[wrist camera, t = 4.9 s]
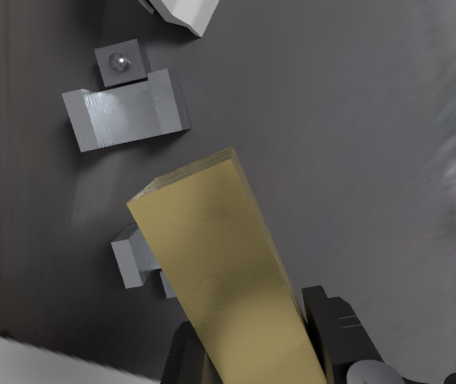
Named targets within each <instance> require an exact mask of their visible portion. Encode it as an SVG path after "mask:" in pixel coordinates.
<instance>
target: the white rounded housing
mask: <svg viewBox="0 0 456 384" xmlns="http://www.w3.org/2000/svg"><path fill="white" fill-rule="evenodd" d="M138 1H139V2H140V3H141V4H142V5H143V6H144V7H145V8H146V9H147V10H148V11H149V12H150V13H151V14H153V12H154V10H156V11H158V12H159V13H160V15H161V16H162V17H163V18H164V20H165V21H166V22H170V23H174V24H178V25H181V26H185V27H187V28H188V29H189V30H190V31H191V32H192V33H193V34H195V35H196V36H199V37H202V35H203V33H204V31H205V29H206V27H207V25H208V23H209V21H210V18H211V16H212V14H213V12H214V10H215V8H216V6H217V4H218V2H219V0H138Z"/></svg>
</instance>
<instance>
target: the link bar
mask: <svg viewBox="0 0 456 384" xmlns="http://www.w3.org/2000/svg"><path fill="white" fill-rule="evenodd" d="M126 204H127V206H128V208H129V210H130V211H131V213H132V215H133V217H134V219H135V221H136V222H137V224H138V226H139V228H140V230H141V232H142V234H143V235H144V237H145V239H146V241H147V243H148V245H149V246H150V248H151V250H152V252H153V254H154V256H155V257H156V259H157V261H158V263H159V265H160V267H161V269H162V270H163V272H164V274H165V276H166V278H167V280H168V281H169V283H170V285H171V287H172V289H173V291H174V293H175V294H176V296H177V298H178V300H179V302H180V304H181V305H182V307H183V309H184V311H185V313H186V315H187V316H188V318H189V320H190V322H191V324H192V326H193V328H194V329H195V331H196V333H197V335H198V337H199V339H200V340H201V342H202V344H203V346H204V348H205V349H206V352H207V353H208V355H209V357H210V359H211V361H212V363H213V364H214V366H215V368H216V370H217V372H218V374H219V375H220V377H221V379H222V381H223V383H224V384H327V380H326V377H325V374H324V371H323V368H322V365H321V362H320V359H319V356H318V353H317V350H316V347H315V344H314V341H313V338H312V335H311V332H310V329H309V326H308V323H307V319H306V317H305V315H304V312H303V310H302V308H301V305H300V303H299V301H298V298H297V296H296V294H295V291H294V289H293V287H292V284H291V282H290V280H289V277H288V275H287V272H286V270H285V268H284V265H283V263H282V261H281V258H280V256H279V254H278V251H277V249H276V247H275V244H274V242H273V240H272V237H271V235H270V233H269V230H268V228H267V225H266V223H265V221H264V218H263V216H262V214H261V211H260V209H259V207H258V204H257V202H256V200H255V197H254V195H253V193H252V190H251V188H250V186H249V183H248V181H247V179H246V176H245V174H244V171H243V169H242V167H241V164H240V162H239V160H238V157H237V155H236V153H235V150H234V148H233V146H230V147H228V148H226V149H223V150H221V151H219V152H216V153H214V154H212V155H209V156H207V157H205V158H203V159H200V160H198V161H196V162H193V163H191V164H189V165H186V166H184V167H182V168H179V169H177V170H175V171H172V172H170V173H168V174H166V175H163V176H161V177H159V178H156V179H155V180H154V181H153V182H151V183H150V184H149V185H148V186H147V187H145V188H144V189H143V190H142V191H140V192H139V193H138V194H137V195H136V196H134V197H133V198H132V199H131V200H130V201H128V202H127V203H126Z"/></svg>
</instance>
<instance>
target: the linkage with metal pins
mask: <svg viewBox="0 0 456 384" xmlns="http://www.w3.org/2000/svg"><path fill="white" fill-rule="evenodd" d="M94 51H95V55H96V58H97V61H98V65H99V68H100V72H101V75H102V78H103V82H104V85H105V87H108V88H112V89H110V90H106V91H102V92H95V91H89V90H83V89H80V90H76V91H71V92H67V93H63V94H62V96H63V99H64V102H65V105H66V108H67V111H68V114H69V117H70V120H71V123H72V126H73V129H74V132H75V135H76V138H77V141H78V144H79V147H80V150H81V152H84V151H89V150H93V149H98V148H103V147H107V146H112V145H116V144H121V143H125V142H130V141H135V140H139V139H144V138H149V137H153V136H158V135H162V134H167V133H172V132H177V131H181V130H186V129H190V128H192V126H191V122H190V118H189V114H188V109H187V105H186V101H185V97H184V92H183V88H182V84H181V80H180V77H179V76H178V75H176V74H175V73H173V72H172V71H170V70H169V69H164V70H160V71H155V72H151V68H150V64H149V61H148V57H147V53H146V49H145V45H144V44H143V43H141V42H140V41H139V40H137V39H133V40H129V41H125V42H121V43H117V44H113V45H109V46H105V47H101V48H97V49H94ZM111 244H112V247H113V250H114V254H115V257H116V260H117V263H118V266H119V269H120V272H121V275H122V278H123V281H124V284H125V287H126V288H132V287H138V286H143V285H144V283H145V281H146V279H147V278H148V276H149V274H150V272H151V271H152V270H153V269H159V268H161V267H160V265H159V263H158V261H157V259H156V257H155V256H154V254H153V252H152V250H151V248H150V246H149V245H148V243H147V241H146V239H145V237H144V235H143V234H142V232H141V230H140V228H139V226H138V224H137V223H133V224H130V225H129V226H128V227H127V228H125V229H124V230H123V231H122V232H121V233H120V234H119V235H118V236H117V237H116V238H115V239H114V240H113V241H112V242H111ZM160 276H161V279H162V282H163V286H164V289H165V293H166V296H167V298H172V297H177V296H176V294H175V293H174V291H173V289H172V287H171V285H170V283H169V281H168V280H167V278H166V276H165V274H164V272H163V270H162V269H161V270H160Z"/></svg>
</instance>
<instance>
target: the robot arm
mask: <svg viewBox="0 0 456 384" xmlns="http://www.w3.org/2000/svg"><path fill="white" fill-rule="evenodd" d="M302 294H303V300H304V306H305V312H306V317H307V323H308V326H309V329H310V332H311V335H312V338H313V341H314V344H315V347H316V350H317V353H318V356H319V359H320V362H321V365H322V368H323V371H324V374H325V377H326V380H327V384H426V383H420V382H415V381H412V380H408V379H406V378H404V377H402V376H401V375H400V374H399V373H398V372H397V371H396V370H395V369H394V368H392V367H391V366H389V365H387V364H385V362H384V361H383V359H382V358H381V356H380V354H379V353H378V351H377V349H376V348H375V346H374V344H373V343H372V341H371V339H370V338H369V336H368V334H367V333H366V331H365V329H364V327H363V326H362V325H361V322H360V321H359V319H358V317H356V314H355V312H354V311H353V309H352V307H351V306H350V304H349V303H347V302H346V301H344V300H343V299H342V298H340V297H333V298H327V296H326V294H325V291H324V289H323V287H322V286H321V285H319V286H313V287H308V288H302ZM222 383H223V381H222V379H221V377H220V375H219V374H218V372H217V370H216V368H215V366H214V364H213V363H212V361H211V359H210V357H209V355H208V353H207V352H206V349H205V348H204V346H203V344H202V342H201V340H200V339H199V337H198V335H197V333H196V331H195V329H194V328H193V326H192V324H191V322H190V321H187V322H182V324H181V325H180V326H179V328H178V329H177V330H176V332H175V333H174V337H173V340H172V346H171V348H170V351H169V356H168V358H167V362H166V365H165V369H164V373H163V376H162V380H161V383H160V384H222ZM444 384H456V373H453V374H450V375H449V376H448V377H447V378H446V379H445V381H444Z"/></svg>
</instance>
